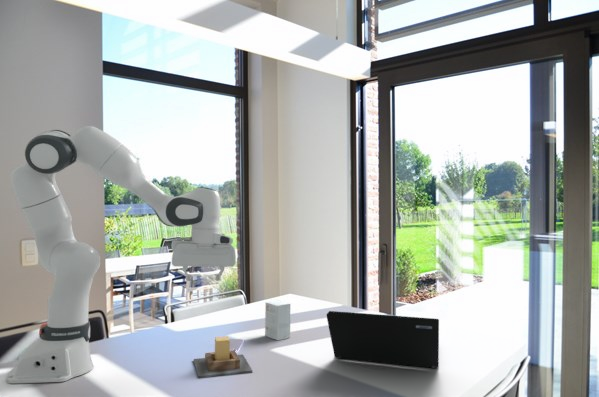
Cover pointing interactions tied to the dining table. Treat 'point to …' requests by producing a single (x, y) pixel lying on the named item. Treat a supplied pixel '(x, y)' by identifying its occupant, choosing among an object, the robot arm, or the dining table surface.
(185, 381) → the dining table surface
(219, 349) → the plug block
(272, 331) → the small box
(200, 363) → the socket board
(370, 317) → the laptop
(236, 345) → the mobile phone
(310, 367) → the dining table surface
